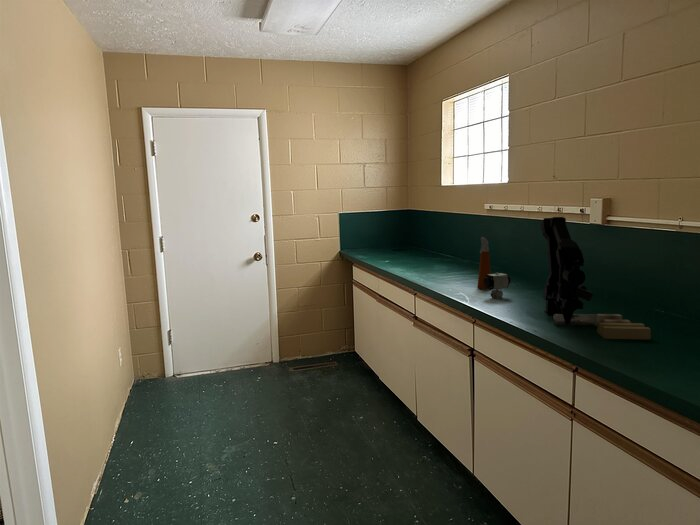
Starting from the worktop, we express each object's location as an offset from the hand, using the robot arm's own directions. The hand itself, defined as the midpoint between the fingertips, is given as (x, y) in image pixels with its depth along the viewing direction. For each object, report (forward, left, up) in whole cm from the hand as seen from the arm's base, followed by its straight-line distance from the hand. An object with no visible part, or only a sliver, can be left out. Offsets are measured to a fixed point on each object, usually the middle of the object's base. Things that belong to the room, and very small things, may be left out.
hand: (565, 322), depth 174 cm
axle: (+3, 0, +1) cm, 3 cm away
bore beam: (+16, 0, -1) cm, 16 cm away
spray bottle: (-22, +63, -1) cm, 67 cm away
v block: (+15, -12, -1) cm, 19 cm away
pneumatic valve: (-18, +43, -1) cm, 47 cm away
